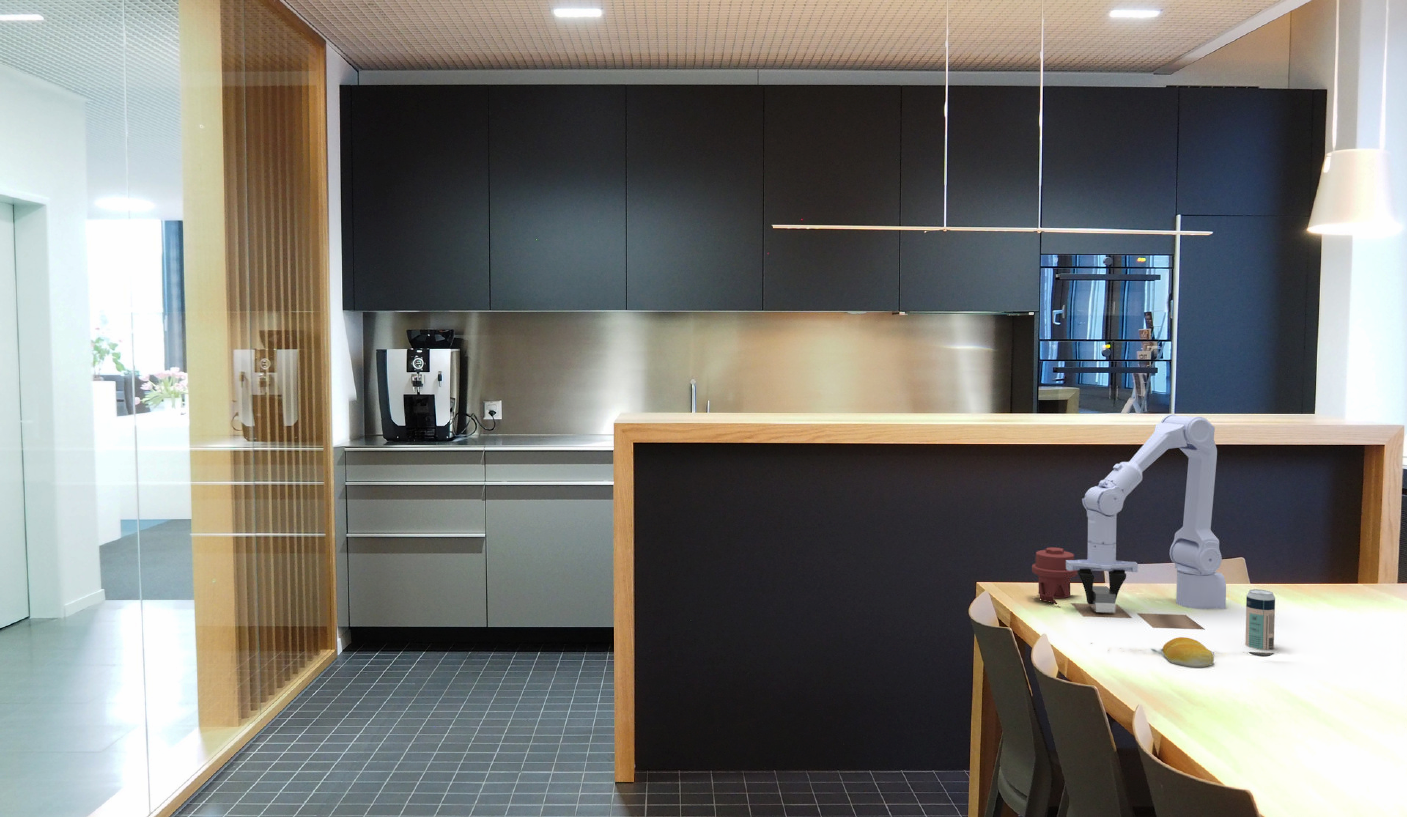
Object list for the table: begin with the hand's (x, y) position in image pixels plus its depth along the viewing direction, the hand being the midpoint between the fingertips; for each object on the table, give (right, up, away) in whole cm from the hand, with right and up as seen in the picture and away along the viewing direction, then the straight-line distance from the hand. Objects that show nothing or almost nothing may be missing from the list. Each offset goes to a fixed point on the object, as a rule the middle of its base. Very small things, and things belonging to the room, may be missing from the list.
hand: (1100, 603), depth 205 cm
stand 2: (+11, -3, -9) cm, 14 cm away
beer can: (+19, -4, -26) cm, 33 cm away
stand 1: (0, -3, 0) cm, 3 cm away
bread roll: (+4, -5, -29) cm, 30 cm away
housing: (0, -1, 0) cm, 1 cm away
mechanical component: (-5, -3, +14) cm, 15 cm away
